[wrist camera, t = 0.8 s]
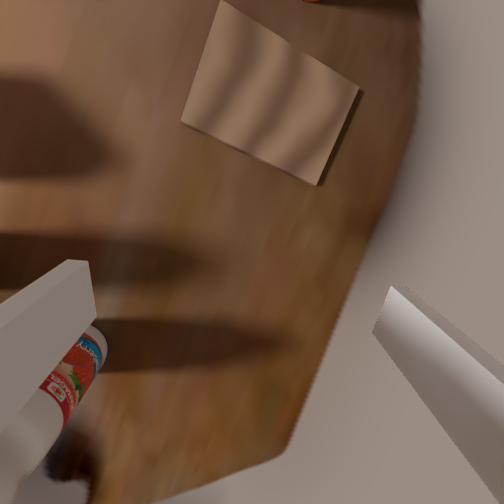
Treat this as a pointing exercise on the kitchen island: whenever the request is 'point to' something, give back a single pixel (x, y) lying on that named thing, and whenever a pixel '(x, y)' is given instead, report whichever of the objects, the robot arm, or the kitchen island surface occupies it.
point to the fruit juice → (48, 411)
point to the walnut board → (267, 97)
